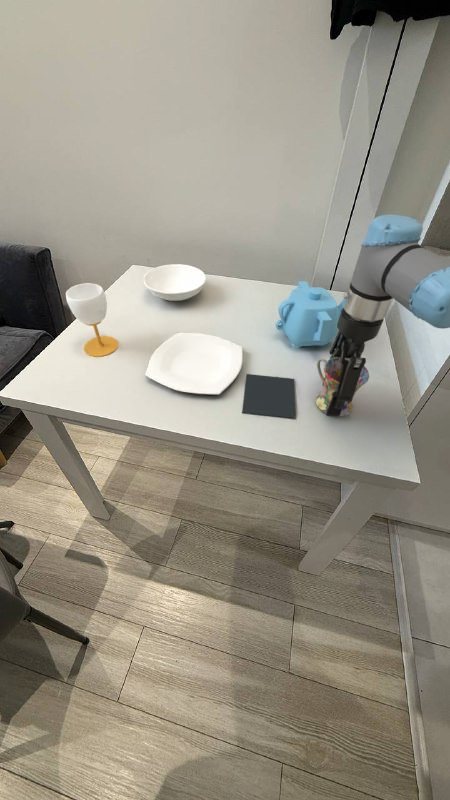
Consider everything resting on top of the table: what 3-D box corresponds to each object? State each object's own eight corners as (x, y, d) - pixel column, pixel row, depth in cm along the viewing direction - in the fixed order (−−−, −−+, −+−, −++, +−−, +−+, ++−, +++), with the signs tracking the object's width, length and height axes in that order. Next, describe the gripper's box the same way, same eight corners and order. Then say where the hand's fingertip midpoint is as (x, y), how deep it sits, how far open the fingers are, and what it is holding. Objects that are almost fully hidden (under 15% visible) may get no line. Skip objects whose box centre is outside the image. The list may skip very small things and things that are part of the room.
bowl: (210, 284, 115) (210, 266, 110) (200, 314, 101) (200, 295, 96) (155, 279, 116) (152, 261, 111) (138, 309, 102) (134, 290, 97)
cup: (76, 351, 87) (55, 295, 75) (98, 333, 93) (82, 279, 81) (103, 360, 84) (86, 305, 73) (125, 341, 90) (112, 287, 79)
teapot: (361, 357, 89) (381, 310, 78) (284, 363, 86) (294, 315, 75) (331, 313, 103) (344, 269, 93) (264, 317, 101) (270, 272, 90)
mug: (361, 409, 75) (379, 375, 68) (333, 426, 72) (348, 392, 64) (324, 379, 82) (335, 345, 74) (296, 393, 78) (305, 358, 71)
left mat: (295, 419, 73) (296, 418, 72) (242, 413, 73) (242, 412, 73) (294, 379, 82) (294, 378, 81) (246, 375, 82) (246, 373, 82)
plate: (224, 408, 74) (225, 402, 73) (134, 384, 79) (132, 378, 77) (251, 349, 89) (252, 343, 88) (174, 332, 94) (173, 326, 93)
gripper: (335, 283, 67) (311, 367, 83) (351, 345, 52) (317, 433, 68) (372, 286, 66) (340, 370, 83) (399, 350, 51) (354, 437, 68)
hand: (330, 399), depth 75 cm, fingers closed on mug, 9 cm apart
